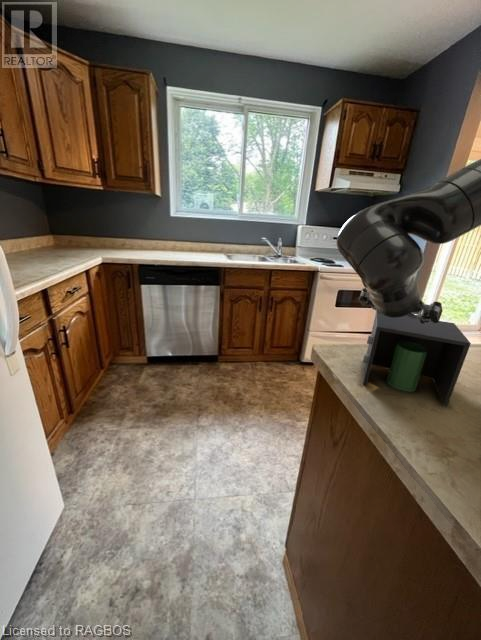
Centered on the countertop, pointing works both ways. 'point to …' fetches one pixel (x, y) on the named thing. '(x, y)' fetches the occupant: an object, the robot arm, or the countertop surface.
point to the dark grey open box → (438, 338)
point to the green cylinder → (407, 365)
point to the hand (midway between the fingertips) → (401, 314)
